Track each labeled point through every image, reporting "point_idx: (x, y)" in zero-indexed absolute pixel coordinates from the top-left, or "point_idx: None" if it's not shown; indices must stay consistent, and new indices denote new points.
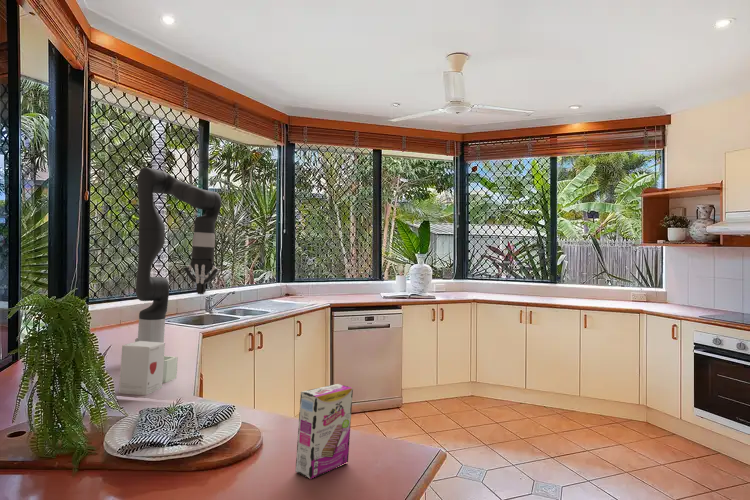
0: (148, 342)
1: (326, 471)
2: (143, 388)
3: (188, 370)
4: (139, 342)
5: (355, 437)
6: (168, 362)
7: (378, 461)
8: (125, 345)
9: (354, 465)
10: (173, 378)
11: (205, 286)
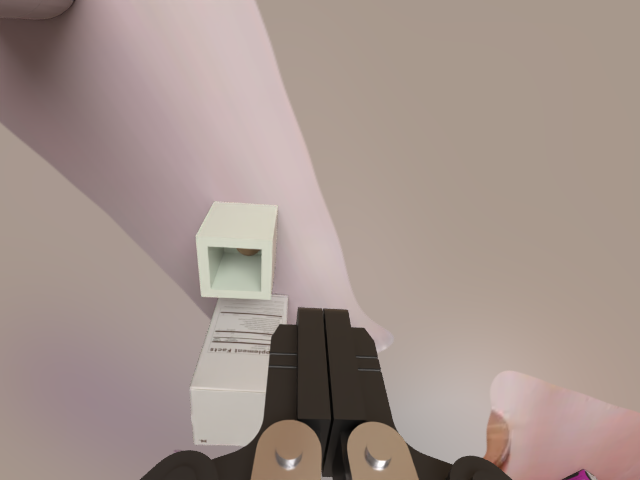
0: (235, 406)
1: None
2: None
3: (255, 63)
4: (210, 412)
5: (634, 428)
6: (271, 289)
7: (630, 468)
8: (203, 444)
9: (600, 476)
10: (276, 226)
11: (383, 401)
